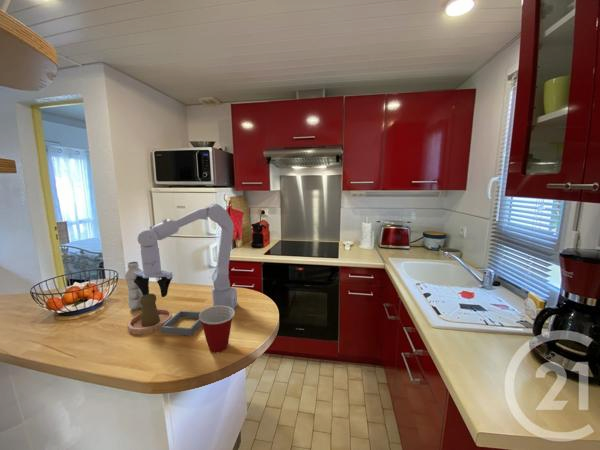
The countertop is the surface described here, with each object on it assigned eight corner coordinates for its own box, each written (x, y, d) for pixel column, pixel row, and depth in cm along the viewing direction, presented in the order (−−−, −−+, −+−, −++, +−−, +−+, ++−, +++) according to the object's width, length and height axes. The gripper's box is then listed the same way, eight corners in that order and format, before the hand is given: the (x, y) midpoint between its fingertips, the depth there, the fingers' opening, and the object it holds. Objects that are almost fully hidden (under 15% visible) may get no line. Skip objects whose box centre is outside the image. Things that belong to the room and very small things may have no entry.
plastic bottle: (127, 313, 98) (121, 266, 94) (130, 306, 103) (124, 261, 100) (146, 309, 100) (141, 264, 97) (147, 302, 106) (143, 259, 103)
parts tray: (207, 318, 94) (206, 312, 93) (191, 335, 83) (190, 329, 82) (180, 316, 95) (180, 310, 95) (161, 333, 84) (160, 327, 84)
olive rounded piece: (150, 328, 86) (147, 299, 85) (137, 325, 88) (133, 297, 86) (163, 319, 92) (161, 292, 90) (151, 317, 94) (148, 290, 92)
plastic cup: (237, 354, 73) (235, 318, 71) (199, 362, 70) (196, 324, 68) (236, 334, 84) (234, 302, 82) (203, 339, 81) (200, 306, 79)
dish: (179, 314, 97) (179, 309, 96) (154, 335, 83) (154, 330, 82) (148, 312, 98) (147, 307, 98) (118, 332, 84) (117, 327, 84)
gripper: (124, 264, 85) (129, 299, 88) (162, 265, 84) (165, 301, 86) (139, 258, 92) (143, 291, 94) (174, 259, 91) (178, 292, 93)
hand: (155, 295), depth 91 cm, fingers open, 7 cm apart
